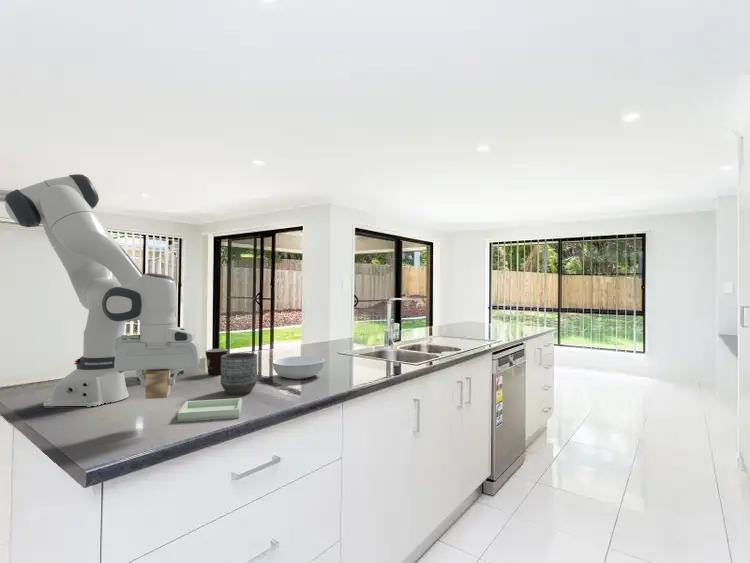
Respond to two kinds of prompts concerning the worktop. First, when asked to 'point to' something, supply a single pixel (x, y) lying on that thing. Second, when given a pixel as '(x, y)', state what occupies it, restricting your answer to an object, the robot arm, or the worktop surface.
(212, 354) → the coffee mug
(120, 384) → the robot arm
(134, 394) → the worktop surface
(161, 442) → the worktop surface
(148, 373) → the box
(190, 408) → the tray
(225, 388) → the planter
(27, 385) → the worktop surface
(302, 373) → the serving bowl
